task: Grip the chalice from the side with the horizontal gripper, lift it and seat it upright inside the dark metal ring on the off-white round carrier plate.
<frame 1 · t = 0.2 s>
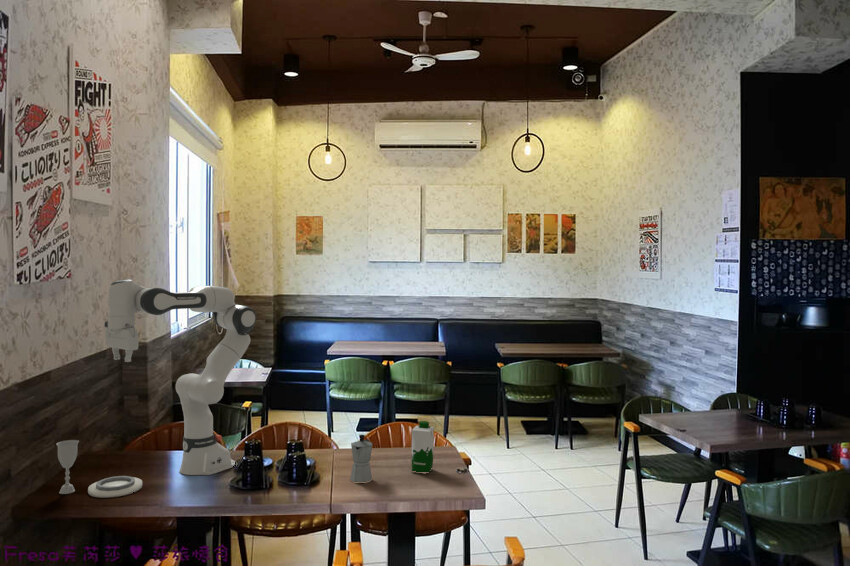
hand: (122, 360, 227), 48 cm above the table, tool pointing down, fingers open, 8 cm apart
coffee maker: (361, 479, 244), on the table
carrier plate: (115, 488, 228), on the table
chalice: (67, 492, 224), on the table
milk carton: (422, 471, 255), on the table
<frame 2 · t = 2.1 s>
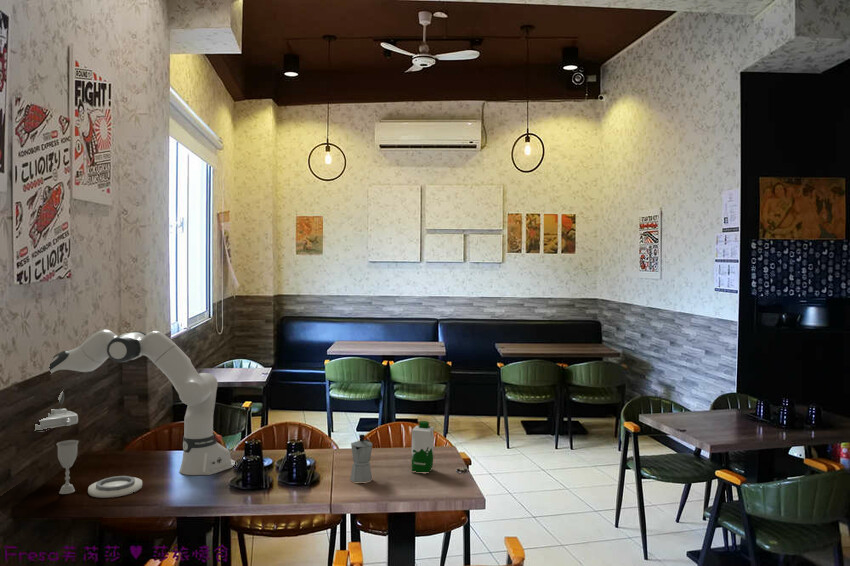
hand: (55, 425, 232), 22 cm above the table, tool horizontal, fingers open, 8 cm apart
nothing on the table moved.
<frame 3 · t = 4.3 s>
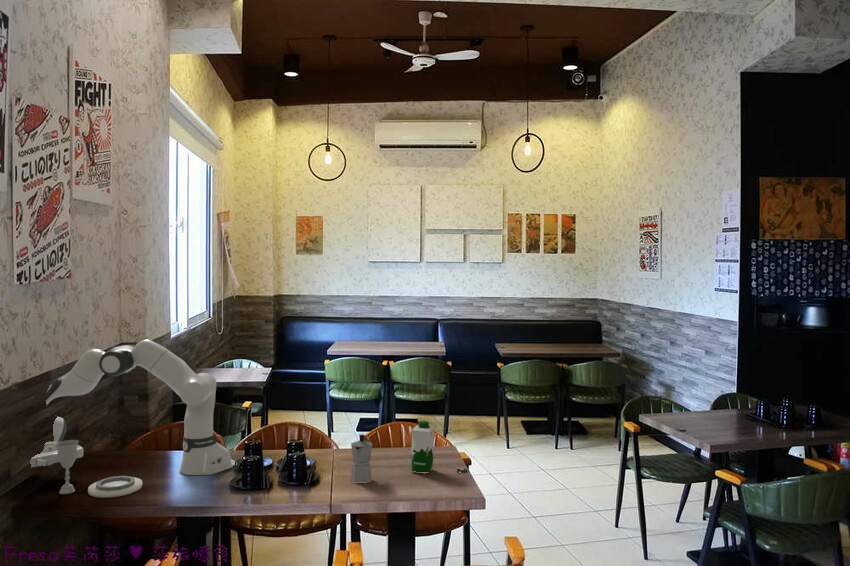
hand: (60, 460, 229), 10 cm above the table, tool horizontal, fingers open, 8 cm apart
nothing on the table moved.
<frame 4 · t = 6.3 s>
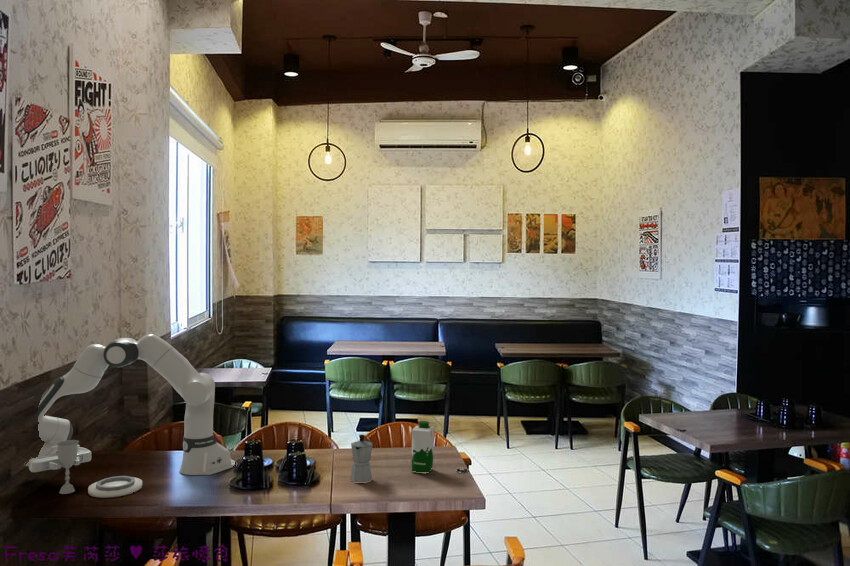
hand: (68, 464, 224), 10 cm above the table, tool horizontal, fingers closed on chalice, 5 cm apart
chalice: (67, 492, 224), on the table, touching gripper
everything else where it was.
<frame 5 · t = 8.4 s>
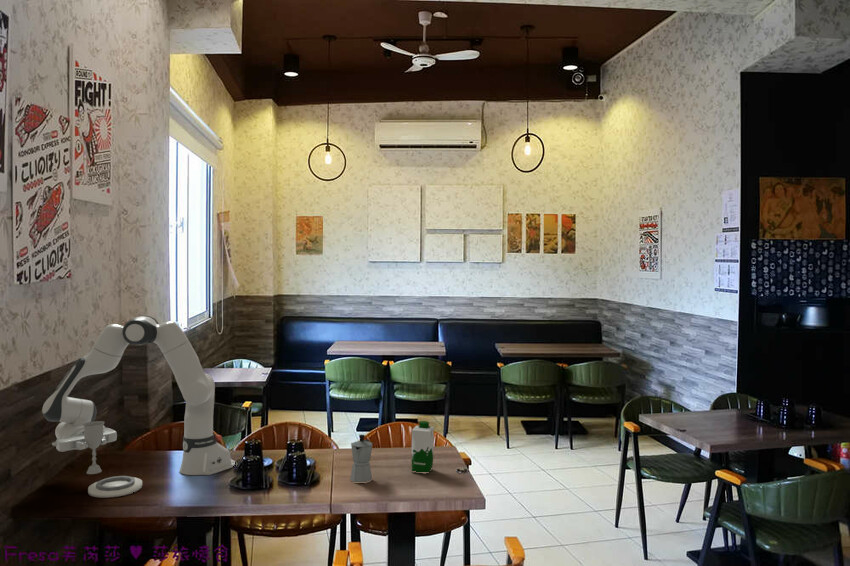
hand: (95, 444, 226), 17 cm above the table, tool horizontal, fingers closed on chalice, 5 cm apart
chalice: (94, 472, 226), point 7 cm above the table, touching gripper
everything else where it was.
when the fingers open (12 cm above the table, at t = 10.8 s): chalice stays where it is, resting on carrier plate.
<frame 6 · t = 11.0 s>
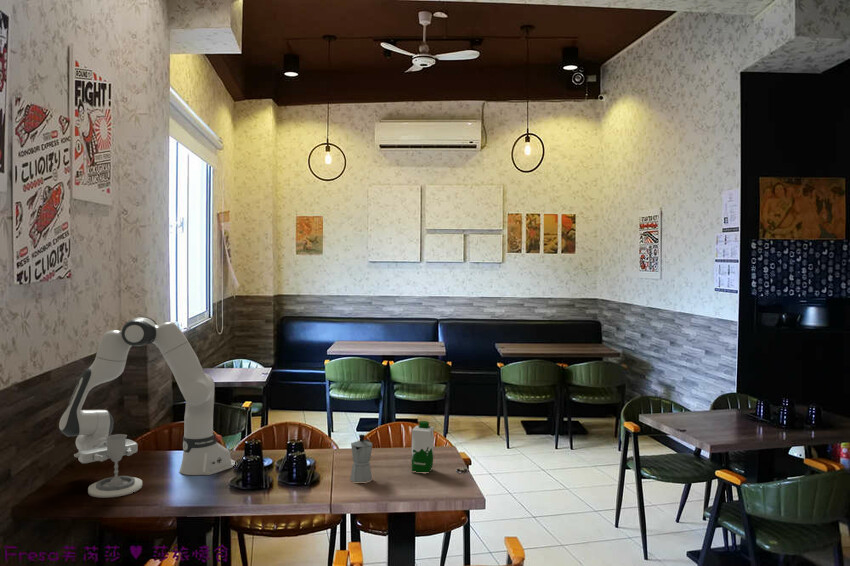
hand: (117, 456, 227), 12 cm above the table, tool horizontal, fingers open, 8 cm apart
chalice: (116, 485, 228), point 1 cm above the table, touching carrier plate
everything else where it was.
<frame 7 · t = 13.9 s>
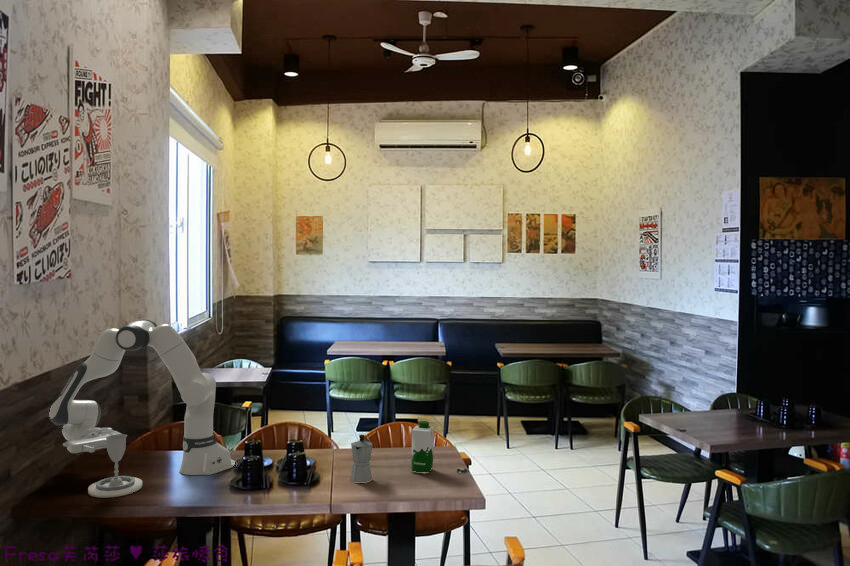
hand: (105, 447, 236), 13 cm above the table, tool horizontal, fingers open, 8 cm apart
nothing on the table moved.
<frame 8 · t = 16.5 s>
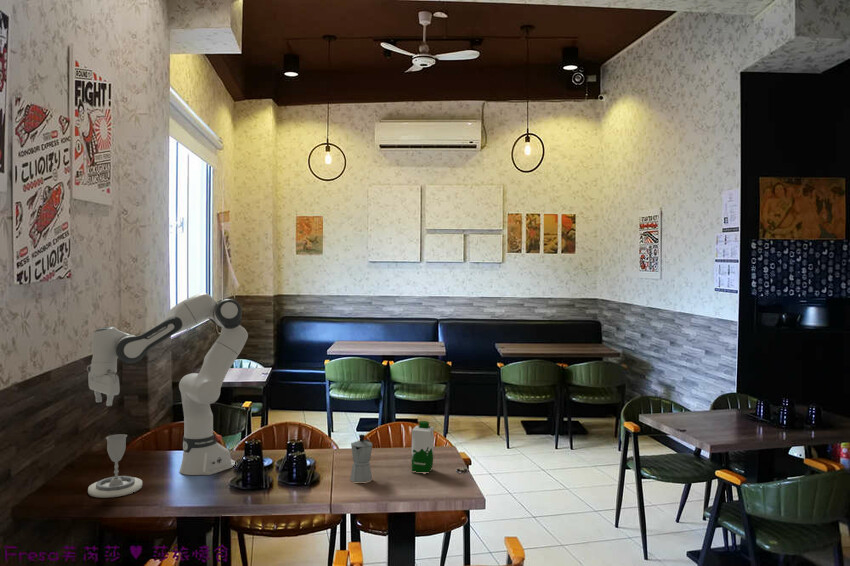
hand: (103, 403, 239), 29 cm above the table, tool pointing down, fingers open, 8 cm apart
nothing on the table moved.
at the end: chalice 0.2 cm off-centre on the carrier plate, point 1.3 cm above the carrier plate's base; chalice tilted 0°; the gripper is holding nothing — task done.
